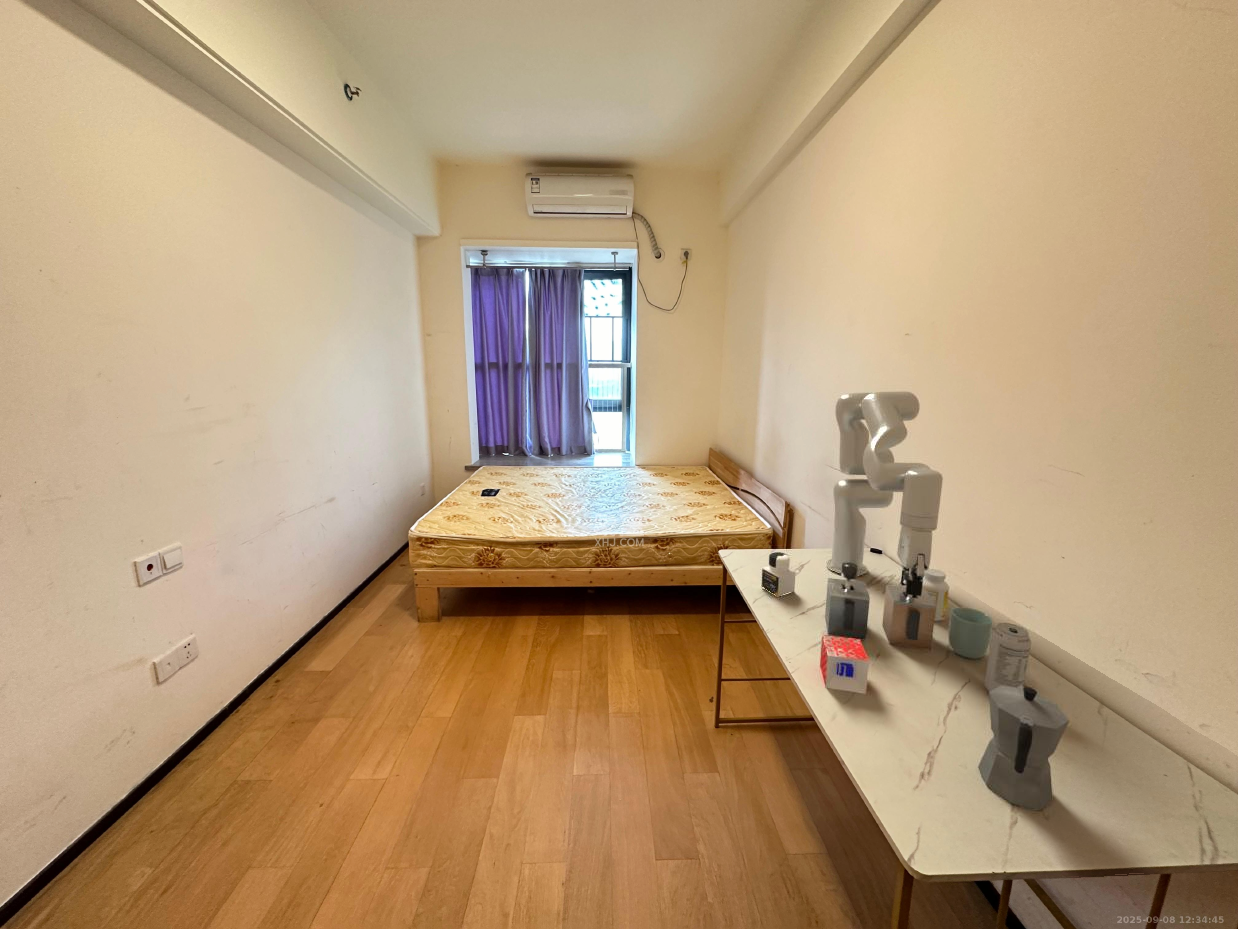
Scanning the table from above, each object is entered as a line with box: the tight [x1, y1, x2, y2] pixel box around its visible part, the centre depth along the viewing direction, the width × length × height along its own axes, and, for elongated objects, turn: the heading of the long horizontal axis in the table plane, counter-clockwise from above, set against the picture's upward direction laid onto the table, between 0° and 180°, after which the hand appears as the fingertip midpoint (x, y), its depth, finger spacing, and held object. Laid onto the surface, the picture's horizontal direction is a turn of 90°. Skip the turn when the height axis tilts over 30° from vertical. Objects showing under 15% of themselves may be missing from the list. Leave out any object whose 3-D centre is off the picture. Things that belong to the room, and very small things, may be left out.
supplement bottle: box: [922, 568, 950, 622], centre depth 123 cm, size 7×7×13 cm
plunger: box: [840, 562, 858, 590], centre depth 117 cm, size 6×6×16 cm
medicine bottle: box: [761, 551, 797, 597], centre depth 140 cm, size 7×7×12 cm
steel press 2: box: [881, 584, 936, 651], centre depth 113 cm, size 10×9×12 cm
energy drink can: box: [984, 622, 1032, 693], centre depth 93 cm, size 6×6×15 cm
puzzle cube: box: [819, 634, 870, 695], centre depth 100 cm, size 8×8×8 cm
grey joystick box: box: [824, 577, 871, 641], centre depth 118 cm, size 10×9×12 cm
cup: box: [947, 606, 994, 659], centre depth 107 cm, size 8×8×10 cm
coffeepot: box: [977, 684, 1070, 811], centre depth 71 cm, size 15×9×18 cm, turn 137°
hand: (910, 589), depth 112 cm, fingers open, 4 cm apart
